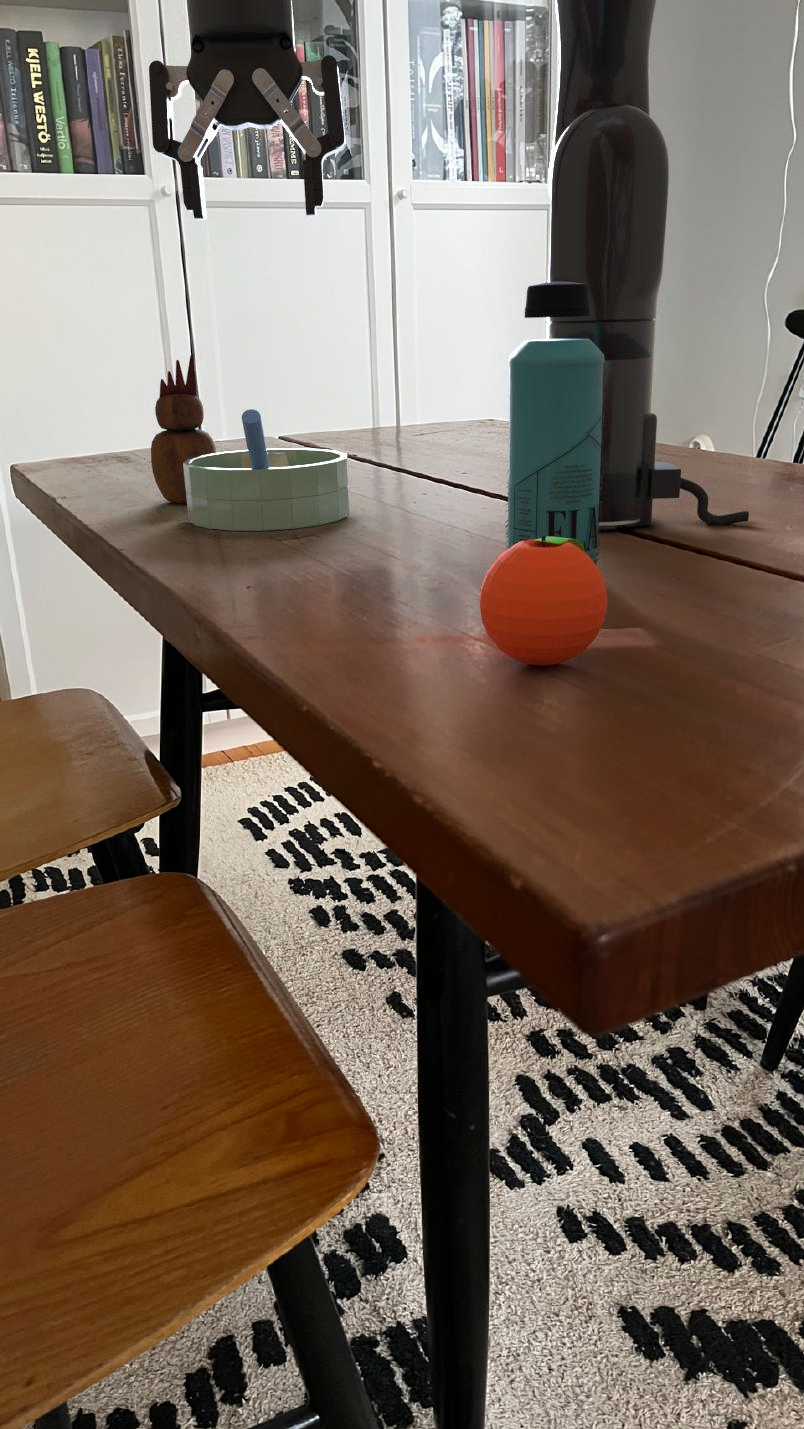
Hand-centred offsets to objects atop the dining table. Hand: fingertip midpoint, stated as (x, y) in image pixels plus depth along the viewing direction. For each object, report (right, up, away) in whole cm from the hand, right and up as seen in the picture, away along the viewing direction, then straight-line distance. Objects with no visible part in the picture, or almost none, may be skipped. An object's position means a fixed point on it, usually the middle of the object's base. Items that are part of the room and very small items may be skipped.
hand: (256, 217), depth 81 cm
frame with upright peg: (-1, -19, +15) cm, 24 cm away
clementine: (+19, -35, -22) cm, 46 cm away
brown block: (-2, -18, +19) cm, 26 cm away
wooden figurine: (-12, -15, +33) cm, 39 cm away
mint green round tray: (-1, -20, +20) cm, 28 cm away
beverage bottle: (+22, -30, -7) cm, 37 cm away
